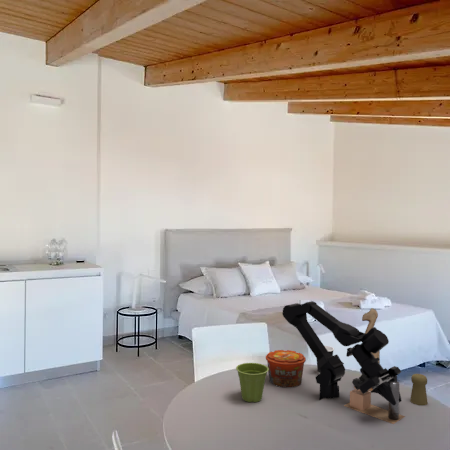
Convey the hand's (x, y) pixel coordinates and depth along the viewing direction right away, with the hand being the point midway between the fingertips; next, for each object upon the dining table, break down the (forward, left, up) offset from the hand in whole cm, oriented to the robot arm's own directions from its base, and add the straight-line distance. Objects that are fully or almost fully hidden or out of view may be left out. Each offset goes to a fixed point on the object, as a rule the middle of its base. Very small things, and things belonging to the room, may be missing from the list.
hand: (397, 403), depth 142 cm
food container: (-39, +27, -7) cm, 48 cm away
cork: (+9, +16, -7) cm, 20 cm away
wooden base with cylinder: (-7, +5, -6) cm, 11 cm away
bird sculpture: (-6, +27, -7) cm, 29 cm away
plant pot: (-49, +7, -7) cm, 50 cm away
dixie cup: (-24, +40, -7) cm, 47 cm away
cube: (-11, +7, -5) cm, 14 cm away
